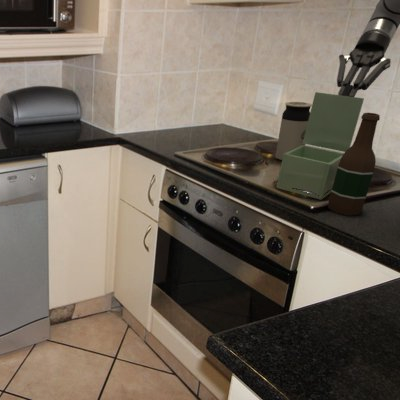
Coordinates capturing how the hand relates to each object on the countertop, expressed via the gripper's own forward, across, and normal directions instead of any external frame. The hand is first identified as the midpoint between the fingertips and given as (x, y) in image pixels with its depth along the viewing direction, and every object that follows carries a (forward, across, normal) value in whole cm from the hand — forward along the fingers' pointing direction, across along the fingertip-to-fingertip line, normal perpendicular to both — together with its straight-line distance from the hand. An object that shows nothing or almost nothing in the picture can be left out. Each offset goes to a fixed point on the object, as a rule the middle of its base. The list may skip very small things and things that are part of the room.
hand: (340, 106), depth 131 cm
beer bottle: (+30, -12, -1) cm, 32 cm away
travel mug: (+7, +14, -23) cm, 28 cm away
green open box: (+23, 0, -7) cm, 24 cm away
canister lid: (+6, 0, +1) cm, 6 cm away
